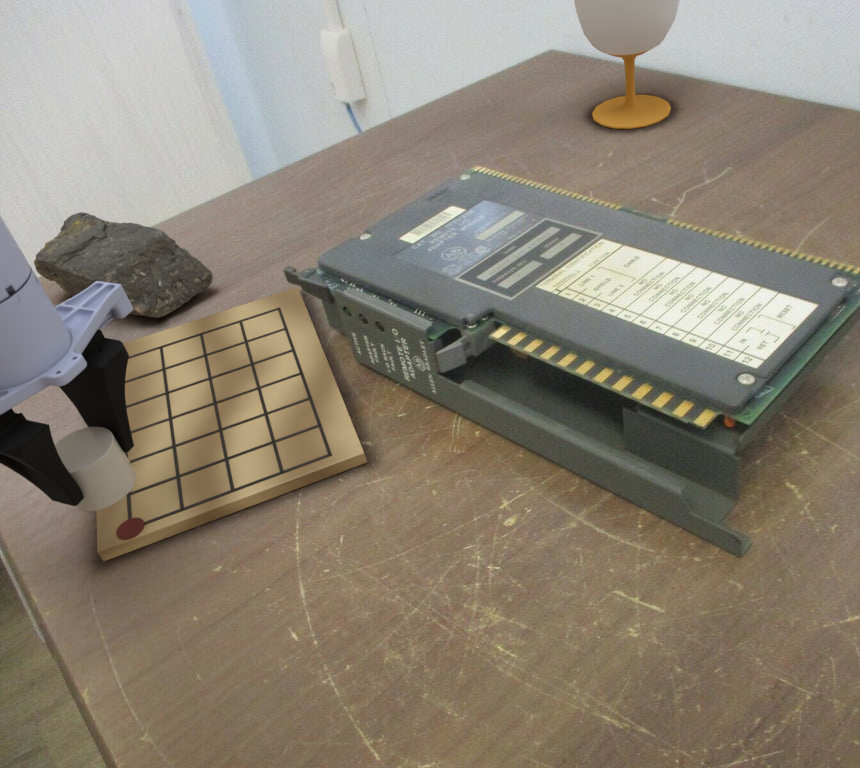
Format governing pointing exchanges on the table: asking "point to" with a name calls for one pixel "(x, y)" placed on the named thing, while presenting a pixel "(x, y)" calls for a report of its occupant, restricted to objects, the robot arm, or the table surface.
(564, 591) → the table surface
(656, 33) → the cup
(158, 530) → the board
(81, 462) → the grey short cylinder
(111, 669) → the table surface
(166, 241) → the rock
